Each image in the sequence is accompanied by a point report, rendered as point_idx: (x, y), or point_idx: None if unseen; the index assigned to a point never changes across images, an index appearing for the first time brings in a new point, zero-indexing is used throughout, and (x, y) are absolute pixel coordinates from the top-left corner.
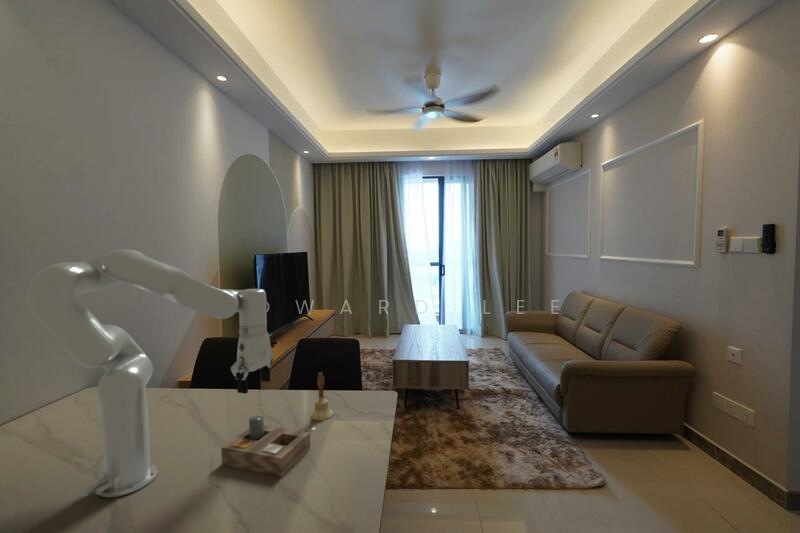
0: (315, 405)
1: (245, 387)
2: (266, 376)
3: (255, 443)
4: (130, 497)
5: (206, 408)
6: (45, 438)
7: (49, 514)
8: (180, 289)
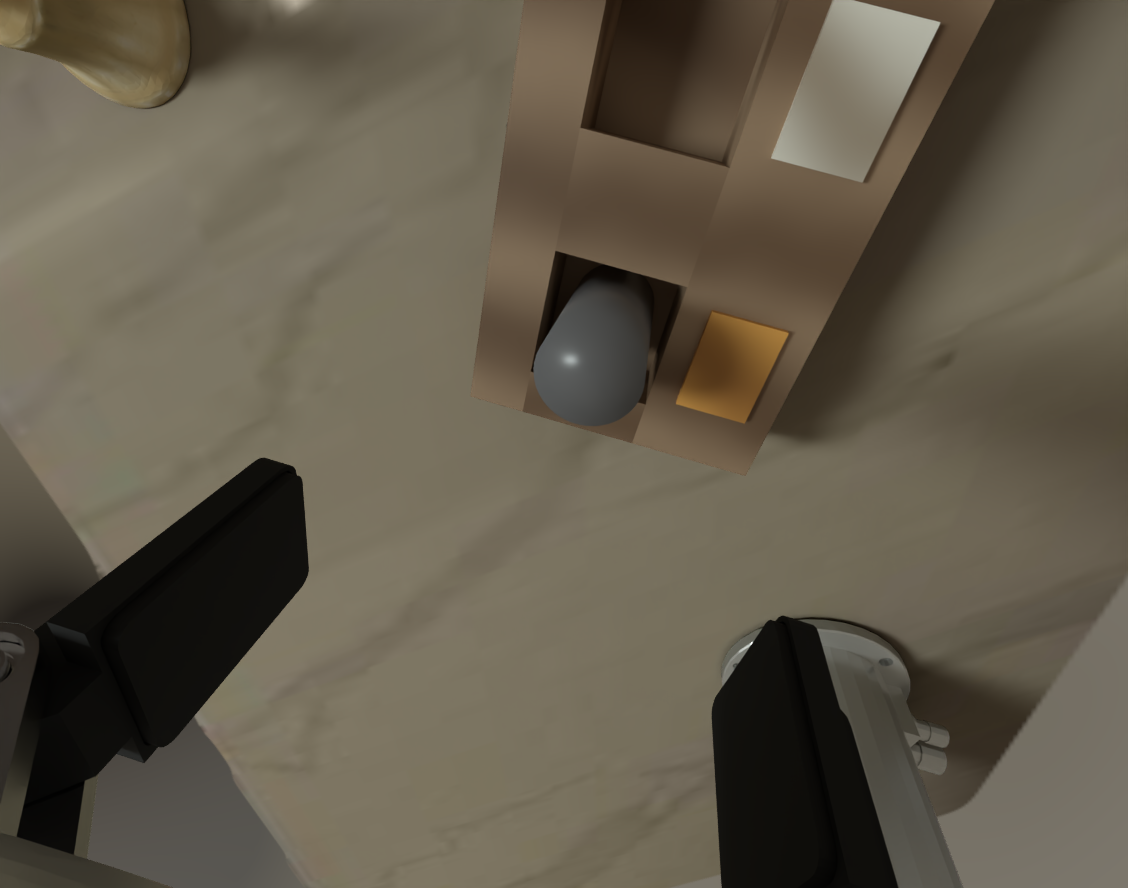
0: (60, 42)
1: (830, 720)
2: (244, 552)
3: (722, 289)
4: (916, 635)
5: (304, 648)
6: (556, 876)
7: None
8: None
